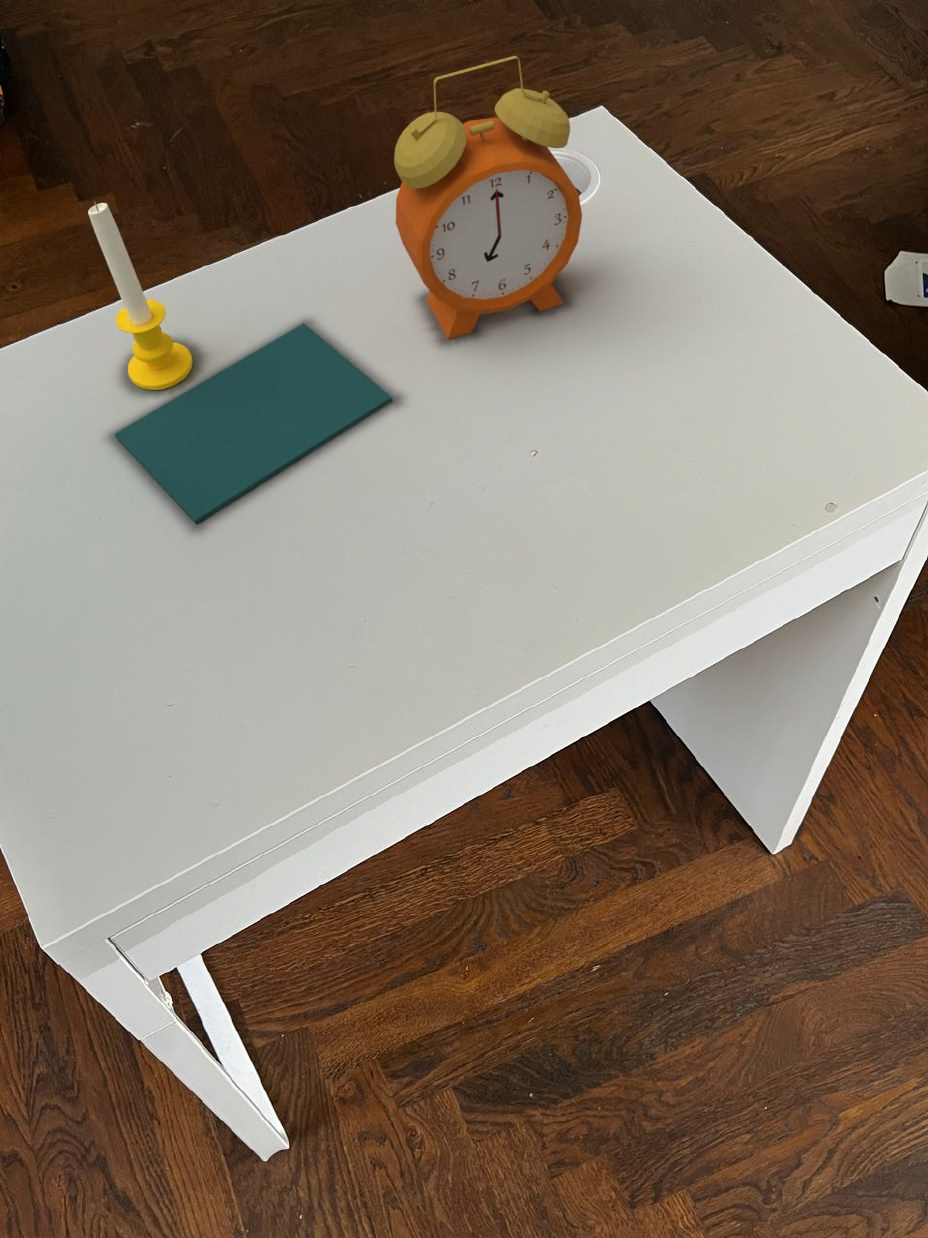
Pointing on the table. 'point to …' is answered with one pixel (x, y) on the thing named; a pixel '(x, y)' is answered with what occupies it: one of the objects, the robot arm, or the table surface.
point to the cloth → (251, 421)
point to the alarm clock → (487, 206)
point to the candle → (139, 314)
